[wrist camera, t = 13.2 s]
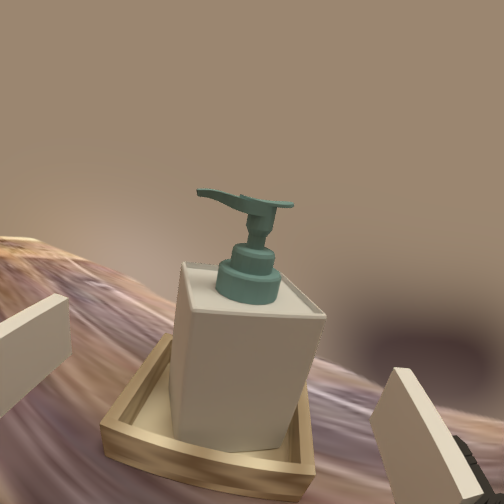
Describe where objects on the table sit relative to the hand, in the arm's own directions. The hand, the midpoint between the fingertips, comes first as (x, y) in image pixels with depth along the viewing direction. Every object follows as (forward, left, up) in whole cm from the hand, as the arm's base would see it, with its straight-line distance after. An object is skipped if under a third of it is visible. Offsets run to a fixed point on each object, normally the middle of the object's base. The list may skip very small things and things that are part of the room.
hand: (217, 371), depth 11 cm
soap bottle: (0, -11, -13) cm, 17 cm away
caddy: (0, -11, -14) cm, 18 cm away
